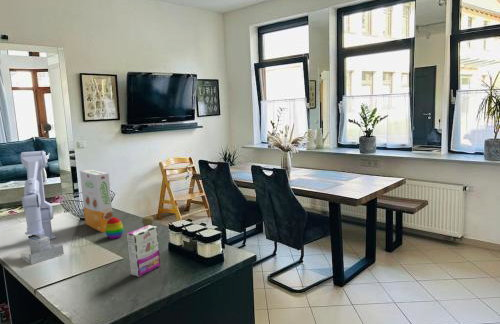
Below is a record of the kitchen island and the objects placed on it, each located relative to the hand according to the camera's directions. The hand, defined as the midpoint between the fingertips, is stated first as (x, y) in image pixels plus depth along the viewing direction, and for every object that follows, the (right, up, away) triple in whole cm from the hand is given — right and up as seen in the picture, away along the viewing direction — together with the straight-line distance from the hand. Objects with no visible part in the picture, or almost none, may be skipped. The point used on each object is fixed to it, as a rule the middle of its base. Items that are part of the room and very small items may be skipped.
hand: (37, 250), depth 163 cm
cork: (+46, +2, +14) cm, 48 cm away
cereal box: (+13, +4, +36) cm, 38 cm away
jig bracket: (+4, -2, -3) cm, 5 cm away
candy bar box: (+54, -3, -22) cm, 58 cm away
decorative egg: (+28, +2, +18) cm, 33 cm away
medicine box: (+4, -2, -4) cm, 6 cm away
